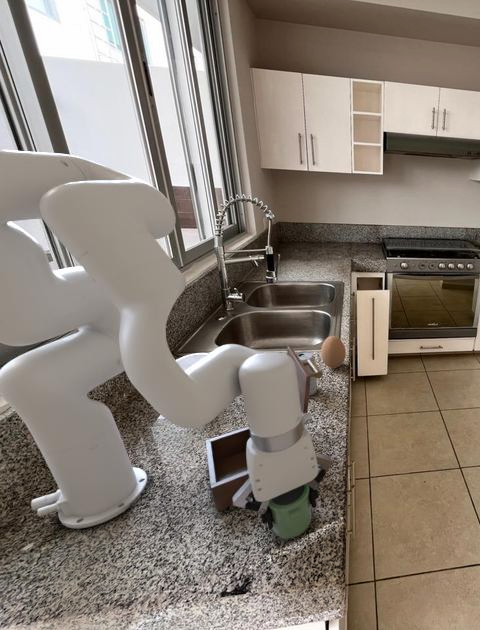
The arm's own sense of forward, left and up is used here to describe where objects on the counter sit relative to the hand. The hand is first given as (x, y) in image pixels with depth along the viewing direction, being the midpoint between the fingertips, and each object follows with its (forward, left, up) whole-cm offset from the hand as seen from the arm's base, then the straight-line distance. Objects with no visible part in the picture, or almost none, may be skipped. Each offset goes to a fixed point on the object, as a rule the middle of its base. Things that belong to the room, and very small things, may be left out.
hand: (291, 511), depth 60 cm
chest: (-3, +16, -3) cm, 17 cm away
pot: (0, 0, -3) cm, 3 cm away
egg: (+25, +48, -3) cm, 54 cm away
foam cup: (-11, +47, -3) cm, 49 cm away
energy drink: (+14, +38, -3) cm, 41 cm away
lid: (+6, +16, +12) cm, 21 cm away
